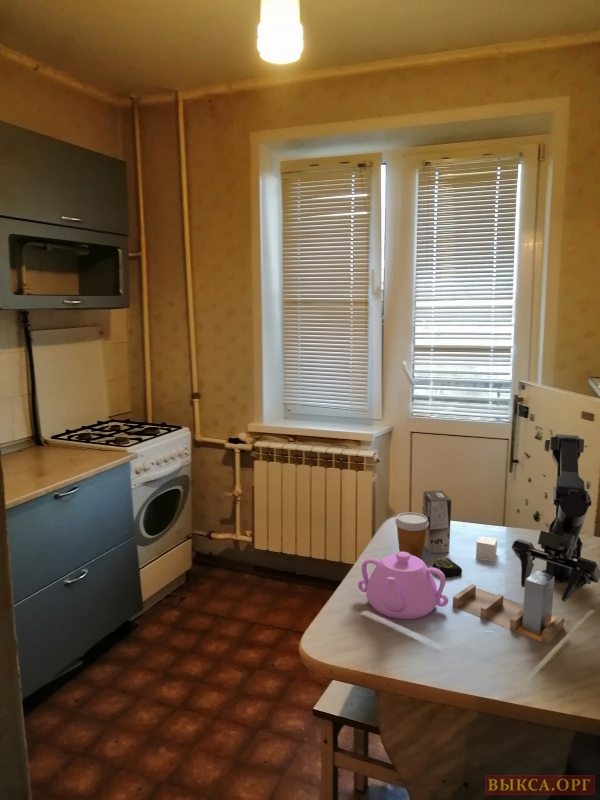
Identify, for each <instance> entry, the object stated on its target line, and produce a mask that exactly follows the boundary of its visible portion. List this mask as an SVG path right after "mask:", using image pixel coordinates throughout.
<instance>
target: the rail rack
mask: <svg viewBox="0 0 600 800" xmlns="http://www.w3.org/2000/svg"><path fill="white" fill-rule="evenodd" d="M452 608H455V609H457V610H460V611H463V612H464V613H468V614H470V615H473V616H475V617H478V618H479V619H480V618H481V619H483V620H485V621H487V622H491V623H493V624H495V625H498V626H500V627H502V628H505V629H508V630H511V631H512V632H516V633H518V634H520V635H523V636H525V637H528V638H530V639H532V640H536V641H538V642H540V643H542V644H545V645H548V644H549V643H550V642H551V641H552V640H553V639H554V638H555V637H557V635H558V634H559V633H560V632H561V631H562V630H563V629H564V628H565V627H566V626H568V624H569V623H570V621H569V620H566V619H565V616H561V615H556V614H555V615H554V614H552V616H551V624H550V625H548V626H547V627H546V628H545V629H544V630H543V631H542V635H541V636H537V635H535V634H532V633H530V632H527V631H525V630H522V623H523V608H524V603H523V604H522V603H519V602H517V601H515V600H514V601H513V600H511V599H509V598H507V597H506V598H505V597H504V595H503V594H501V593H498V594H494V593H491V592H489V591H486V590H484V589H481V588H477V585H476V584H473V583H471V584H469V585H468V586H467V587H465V588H464V589H462V590H461V591H459V592H457V594H455V595H453V596H452Z"/></svg>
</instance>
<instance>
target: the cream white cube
mask: <svg viewBox="0 0 600 800" xmlns="http://www.w3.org/2000/svg"><path fill="white" fill-rule="evenodd" d="M497 548H498V538H494V537H488V536H482V535H480V536H479V537H478V538H477V540H476V549H475V551H476V552H475V559H479V560H485V561H491V562H494V561H495V559H496V557H497V551H498V549H497Z"/></svg>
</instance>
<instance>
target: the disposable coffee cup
mask: <svg viewBox="0 0 600 800" xmlns="http://www.w3.org/2000/svg"><path fill="white" fill-rule="evenodd" d="M394 523H395V525H396V529H397V530H396V532H397V542H398V550H399V551H398V552H407V553H409V554H410V555H413V556H416V557H418V558H420V559H421V560H422V559H423V553H424V547H425V546H424V543H425V537H426V531H427V527H428V525H429V522H428V520H427V517H426V516H424V515H422V513H417V512H402V513H399V514H397V516H396V518H395V520H394Z"/></svg>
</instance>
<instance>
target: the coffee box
mask: <svg viewBox="0 0 600 800" xmlns="http://www.w3.org/2000/svg"><path fill="white" fill-rule="evenodd" d="M421 510H422V511H421V512H422V513H421V514H422V515H424V516H426V517H427V520H428V522H429V525H428V527H427V531H426V537H425V543H424V547H425V548H426V550H427V552H428V553H429V554H434V553H435V554H437V553H439V554H440V553H450V545H451V544H450V542H451V541H450V540H451V519H452V500H451V498H450V497H449V496H448V495H447V494H446V493H445V492H444V491H443V490H428V491H426V490H425V491H422V509H421Z"/></svg>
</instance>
